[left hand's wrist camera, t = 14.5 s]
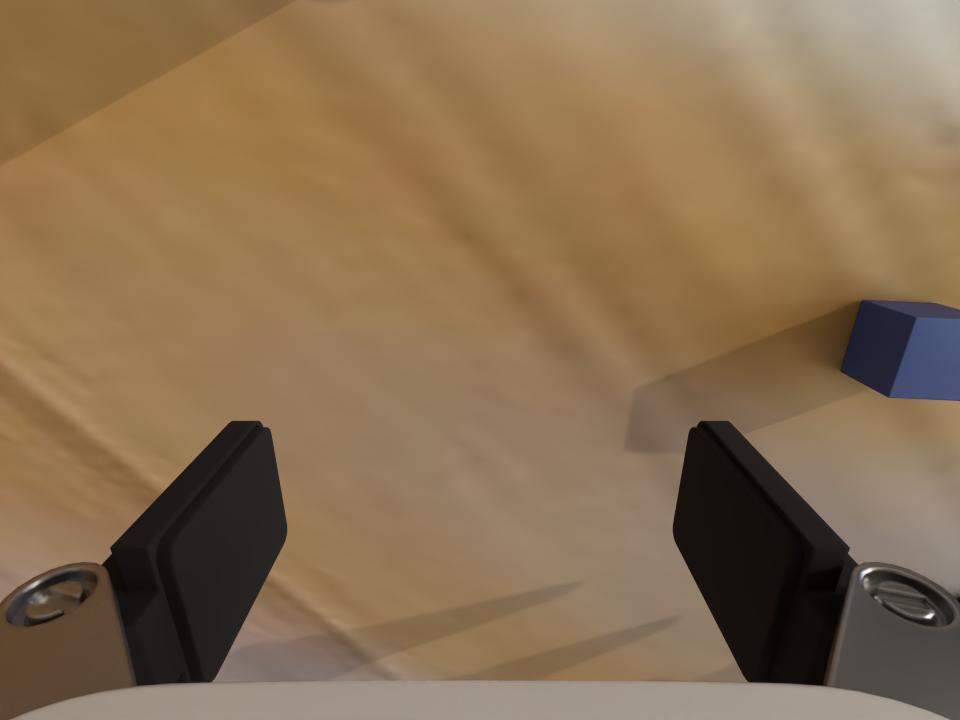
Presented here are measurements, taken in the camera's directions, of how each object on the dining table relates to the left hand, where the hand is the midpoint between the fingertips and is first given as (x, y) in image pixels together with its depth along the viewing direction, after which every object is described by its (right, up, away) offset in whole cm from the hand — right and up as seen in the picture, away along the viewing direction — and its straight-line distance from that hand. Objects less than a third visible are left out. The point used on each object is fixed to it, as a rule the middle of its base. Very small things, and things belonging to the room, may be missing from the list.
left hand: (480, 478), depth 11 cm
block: (+27, +4, +22) cm, 35 cm away
